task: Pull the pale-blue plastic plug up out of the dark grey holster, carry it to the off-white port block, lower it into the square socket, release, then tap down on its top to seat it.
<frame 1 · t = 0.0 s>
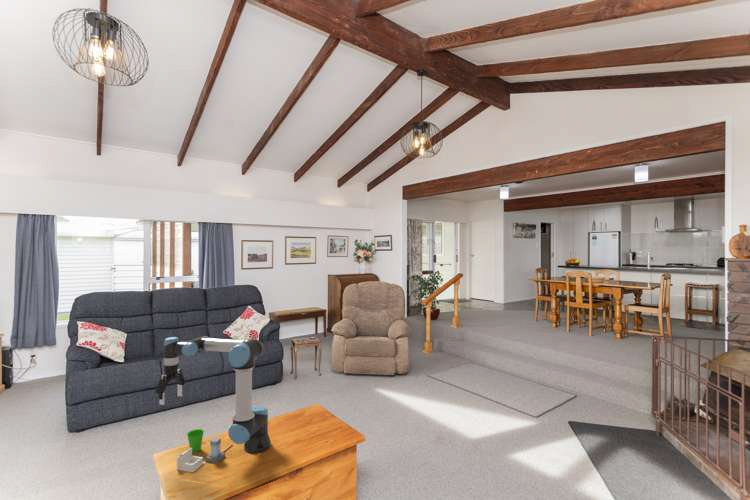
hand: (171, 400, 224), 28 cm above the table, fingers open, 13 cm apart
port: (191, 466, 204), on the table
cup: (195, 451, 219), on the table
plug: (215, 458, 210), point 1 cm above the table, touching holster
holster: (215, 459, 210), on the table
cord: (226, 451, 219), on the table
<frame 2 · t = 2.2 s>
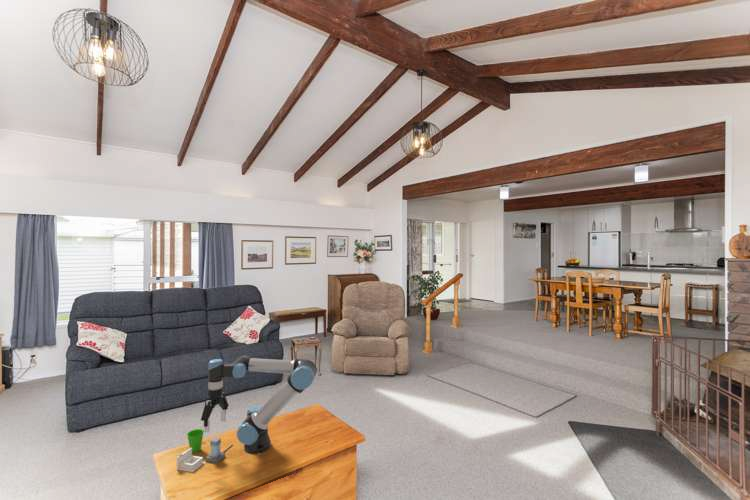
hand: (215, 426, 210), 18 cm above the table, fingers open, 13 cm apart
nothing on the table moved.
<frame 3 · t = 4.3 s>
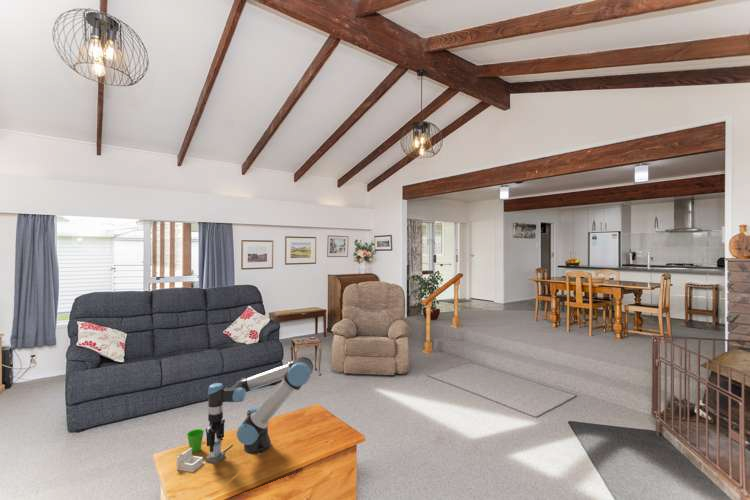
hand: (215, 454, 210), 3 cm above the table, fingers closed on holster, 4 cm apart
nothing on the table moved.
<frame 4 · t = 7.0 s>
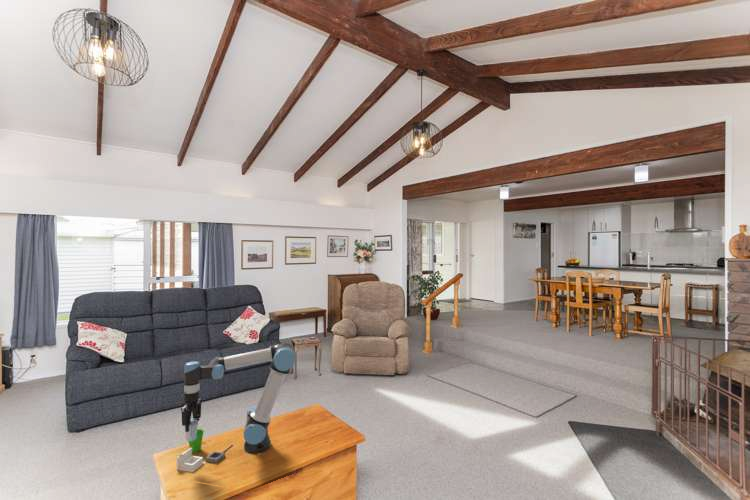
hand: (191, 435, 204), 17 cm above the table, fingers closed on plug, 4 cm apart
plug: (191, 439, 204), point 15 cm above the table, touching gripper
everything else where it was.
when the fingers open (4 cm above the table, at t = 9.3 s): plug drops 1 cm, resting on port.
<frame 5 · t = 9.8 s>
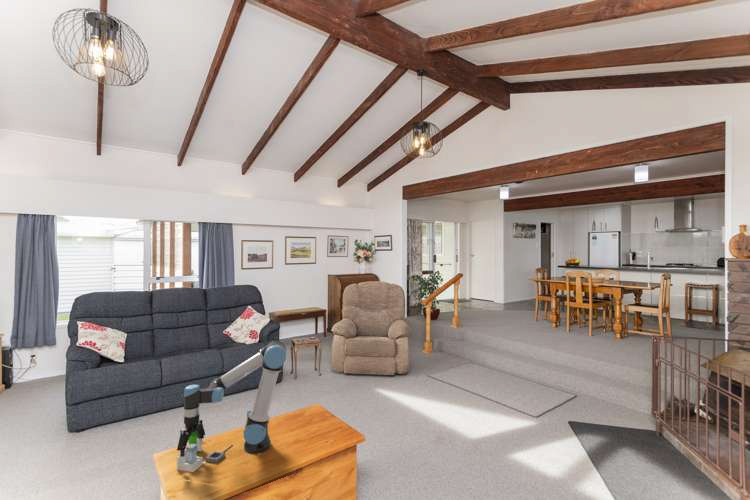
hand: (191, 456, 204), 6 cm above the table, fingers open, 11 cm apart
plug: (191, 465, 204), point 1 cm above the table, touching port
everything else where it was.
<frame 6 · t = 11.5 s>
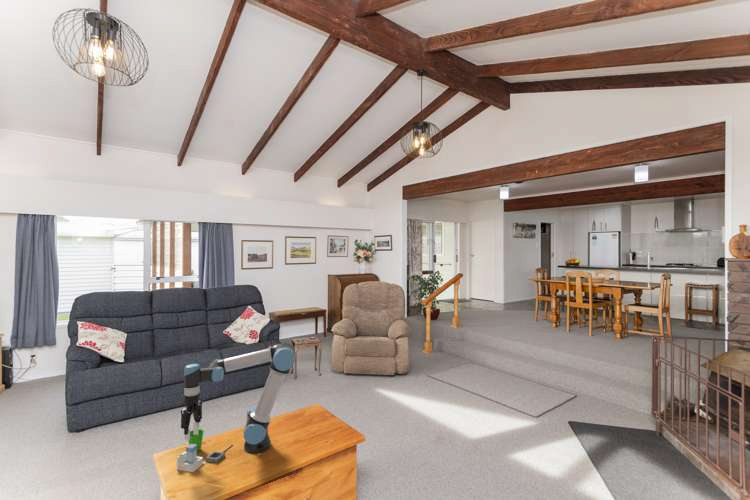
hand: (191, 437, 204), 16 cm above the table, fingers open, 6 cm apart
nothing on the table moved.
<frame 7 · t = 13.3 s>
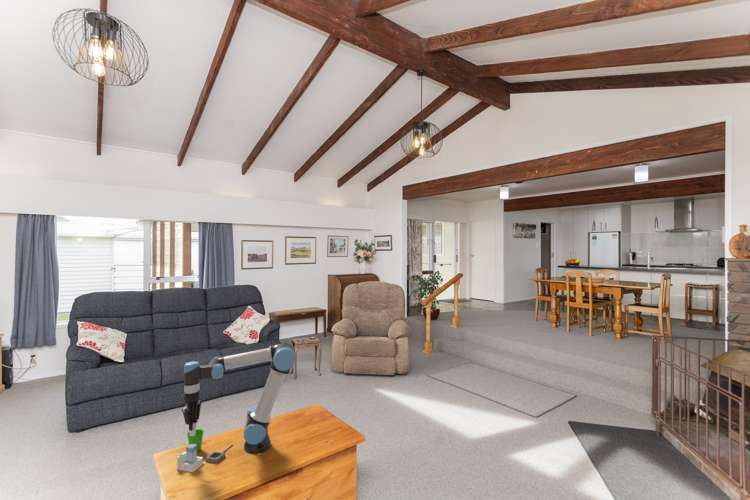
hand: (192, 435, 204), 17 cm above the table, fingers closed
nothing on the table moved.
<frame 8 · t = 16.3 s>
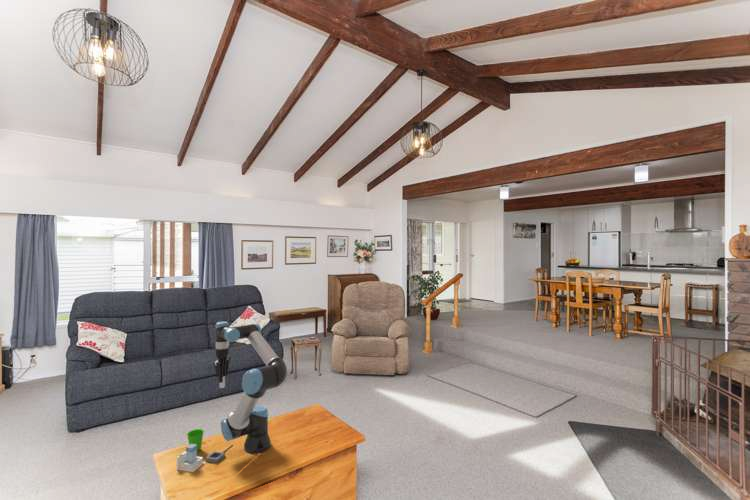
hand: (222, 387, 227), 34 cm above the table, fingers closed
nothing on the table moved.
at the end: plug 0.0 cm off-centre on the port, point 0.6 cm above the port's base; plug tilted 0°; the gripper is holding nothing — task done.
